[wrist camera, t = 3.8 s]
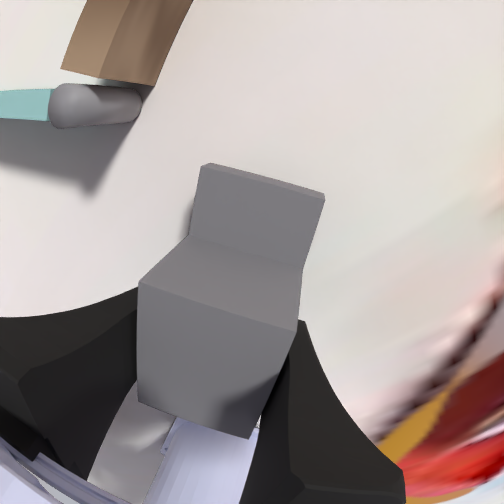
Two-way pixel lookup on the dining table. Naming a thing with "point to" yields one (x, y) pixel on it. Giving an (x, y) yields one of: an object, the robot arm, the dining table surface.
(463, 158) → the dining table surface
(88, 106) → the door
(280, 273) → the door stop
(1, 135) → the dining table surface
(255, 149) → the dining table surface
